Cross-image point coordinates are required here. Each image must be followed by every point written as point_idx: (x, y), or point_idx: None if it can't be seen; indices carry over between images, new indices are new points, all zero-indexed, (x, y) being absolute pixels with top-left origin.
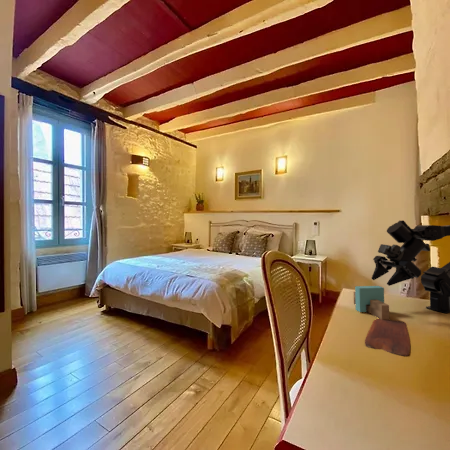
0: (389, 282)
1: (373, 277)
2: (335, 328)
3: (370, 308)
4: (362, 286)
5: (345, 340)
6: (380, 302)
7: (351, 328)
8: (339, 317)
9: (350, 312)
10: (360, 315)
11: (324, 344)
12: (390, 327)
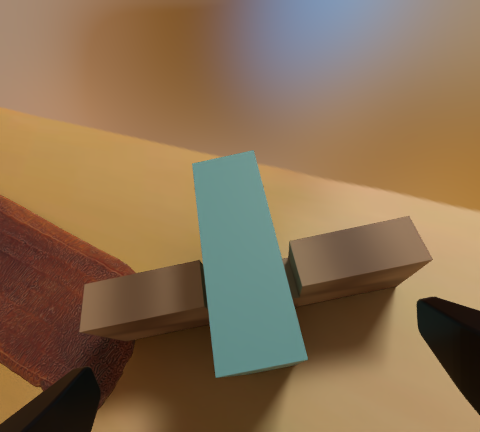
0: (48, 395)
1: (433, 320)
2: (79, 136)
3: None
4: (254, 195)
5: (5, 147)
6: (139, 302)
7: (70, 173)
8: (167, 158)
9: None
10: (190, 232)
11: (3, 109)
12: (26, 292)
